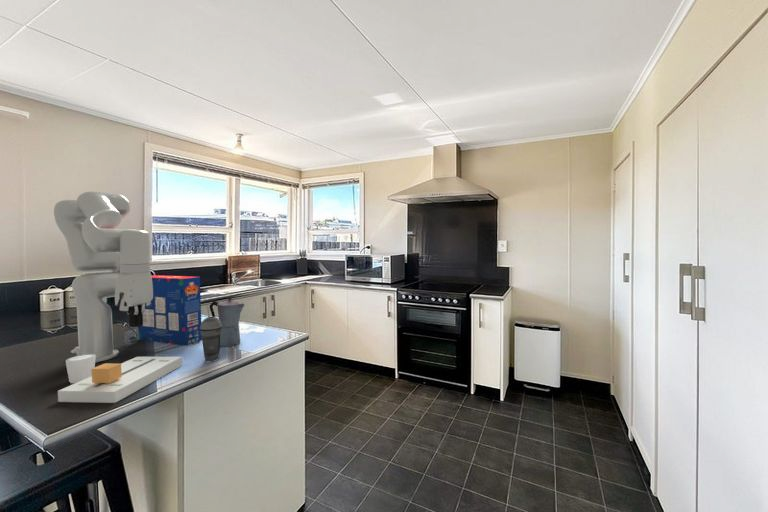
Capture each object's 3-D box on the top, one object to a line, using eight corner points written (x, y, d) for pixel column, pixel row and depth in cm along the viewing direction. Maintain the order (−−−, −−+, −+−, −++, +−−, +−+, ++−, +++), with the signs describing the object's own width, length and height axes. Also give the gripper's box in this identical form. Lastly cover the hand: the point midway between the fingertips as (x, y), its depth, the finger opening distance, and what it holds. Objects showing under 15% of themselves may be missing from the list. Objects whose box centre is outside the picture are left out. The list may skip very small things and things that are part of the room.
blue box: (201, 340, 140) (199, 276, 139) (185, 345, 132) (182, 278, 131) (156, 334, 149) (154, 275, 148) (138, 339, 142) (136, 277, 141)
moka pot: (240, 347, 129) (239, 298, 129) (203, 347, 130) (201, 298, 129) (250, 340, 139) (249, 294, 138) (215, 340, 139) (214, 294, 138)
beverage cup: (213, 363, 112) (211, 307, 111) (195, 362, 113) (193, 306, 113) (227, 356, 119) (226, 303, 118) (210, 355, 120) (208, 302, 120)
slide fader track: (58, 401, 85) (57, 390, 85) (137, 364, 111) (137, 356, 111) (115, 402, 85) (114, 391, 84) (182, 365, 111) (181, 356, 110)
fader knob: (92, 382, 89) (91, 368, 89) (105, 376, 93) (104, 363, 93) (109, 383, 89) (108, 369, 89) (121, 377, 93) (121, 363, 93)
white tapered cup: (79, 375, 103) (78, 354, 103) (102, 374, 103) (101, 353, 103) (59, 384, 96) (58, 361, 96) (84, 383, 97) (83, 360, 96)
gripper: (143, 266, 109) (143, 319, 110) (102, 271, 94) (103, 332, 95) (164, 267, 108) (164, 320, 109) (126, 272, 93) (127, 333, 95)
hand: (136, 325), depth 102 cm, fingers closed
